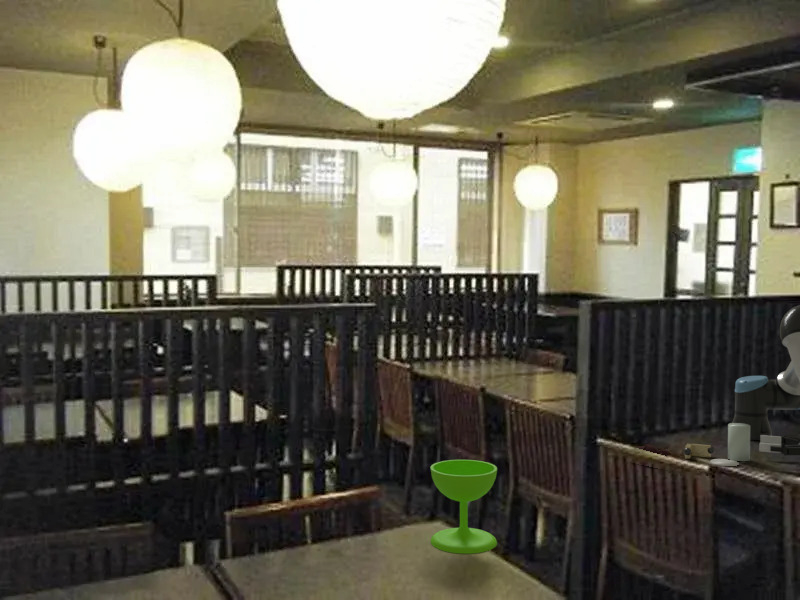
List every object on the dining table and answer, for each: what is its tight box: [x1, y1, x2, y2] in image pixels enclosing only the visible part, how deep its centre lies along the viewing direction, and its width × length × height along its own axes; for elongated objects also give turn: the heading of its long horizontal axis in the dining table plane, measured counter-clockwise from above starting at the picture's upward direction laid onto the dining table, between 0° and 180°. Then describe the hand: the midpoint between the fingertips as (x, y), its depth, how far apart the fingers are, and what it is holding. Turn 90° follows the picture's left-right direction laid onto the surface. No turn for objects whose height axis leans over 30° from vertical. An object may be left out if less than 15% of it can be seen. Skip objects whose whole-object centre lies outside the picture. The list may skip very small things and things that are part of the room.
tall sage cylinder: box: [727, 422, 751, 462], centre depth 269 cm, size 7×7×12 cm
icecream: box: [635, 443, 670, 457], centre depth 264 cm, size 7×7×15 cm
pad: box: [709, 458, 740, 467], centre depth 263 cm, size 9×9×1 cm
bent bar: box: [683, 442, 716, 460], centre depth 272 cm, size 9×10×4 cm
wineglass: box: [430, 459, 498, 555], centre depth 188 cm, size 16×16×18 cm
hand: (759, 442), depth 265 cm, fingers open, 13 cm apart
